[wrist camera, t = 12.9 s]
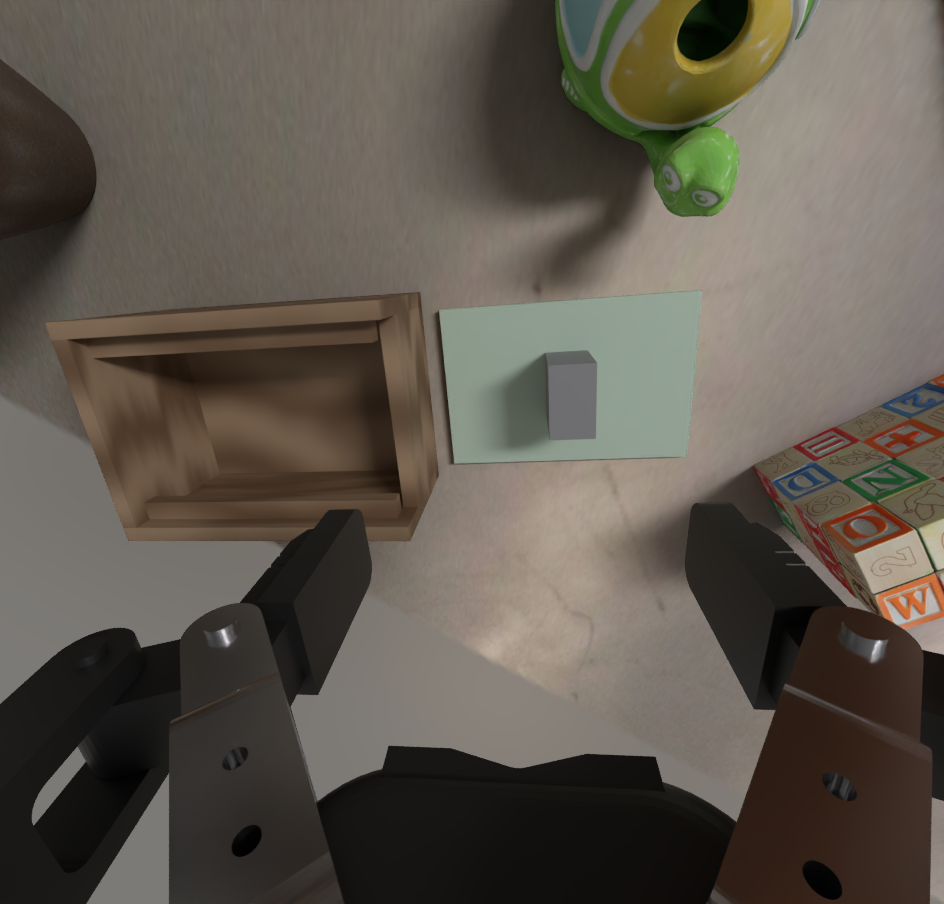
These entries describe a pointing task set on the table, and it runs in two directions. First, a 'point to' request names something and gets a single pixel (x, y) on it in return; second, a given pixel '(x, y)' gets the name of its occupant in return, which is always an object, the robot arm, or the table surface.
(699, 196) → the turtle holder
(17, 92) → the plant pot
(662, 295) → the lid
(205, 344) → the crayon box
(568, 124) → the table surface
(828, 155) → the table surface
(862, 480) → the stack of blocks
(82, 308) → the table surface
